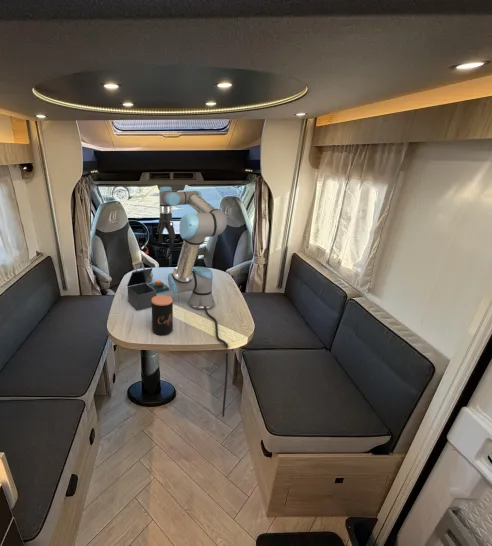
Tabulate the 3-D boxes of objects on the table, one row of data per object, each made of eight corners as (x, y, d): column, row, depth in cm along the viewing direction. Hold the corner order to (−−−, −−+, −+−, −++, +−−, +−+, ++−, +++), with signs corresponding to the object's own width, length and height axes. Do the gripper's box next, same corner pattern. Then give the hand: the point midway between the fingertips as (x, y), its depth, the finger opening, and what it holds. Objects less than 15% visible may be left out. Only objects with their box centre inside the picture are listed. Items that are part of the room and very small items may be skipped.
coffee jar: (157, 338, 154) (156, 305, 147) (149, 328, 163) (148, 297, 156) (176, 333, 158) (176, 301, 152) (167, 323, 167) (166, 293, 161)
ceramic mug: (153, 279, 227) (153, 269, 224) (152, 283, 219) (151, 273, 216) (139, 279, 227) (138, 269, 225) (137, 283, 220) (136, 273, 217)
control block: (169, 290, 208) (169, 284, 207) (155, 293, 204) (155, 287, 202) (160, 284, 218) (160, 279, 217) (147, 287, 213) (147, 281, 212)
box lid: (152, 269, 183) (147, 257, 186) (132, 273, 177) (128, 261, 180) (146, 282, 195) (141, 271, 198) (127, 286, 189) (123, 275, 193)
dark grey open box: (156, 305, 187) (156, 291, 183) (137, 310, 181) (136, 295, 178) (146, 296, 199) (145, 282, 195) (128, 301, 193) (127, 286, 189)
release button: (161, 284, 209) (161, 281, 208) (157, 285, 207) (157, 282, 207) (159, 282, 212) (159, 280, 211) (154, 283, 210) (154, 281, 210)
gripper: (181, 215, 183) (181, 249, 190) (161, 209, 203) (162, 240, 210) (170, 216, 179) (170, 251, 187) (151, 210, 199) (152, 242, 207)
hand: (166, 245), depth 199 cm, fingers open, 13 cm apart
